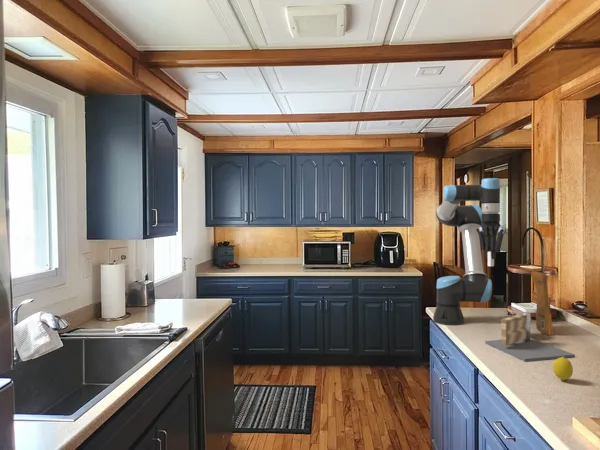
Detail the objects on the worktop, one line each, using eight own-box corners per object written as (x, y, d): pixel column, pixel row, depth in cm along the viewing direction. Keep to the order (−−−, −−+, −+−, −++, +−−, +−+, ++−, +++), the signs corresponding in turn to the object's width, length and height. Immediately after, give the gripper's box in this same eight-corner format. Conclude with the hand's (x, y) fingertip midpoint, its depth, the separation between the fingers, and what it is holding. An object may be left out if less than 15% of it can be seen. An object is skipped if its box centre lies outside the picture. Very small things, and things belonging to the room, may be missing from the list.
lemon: (549, 377, 146) (549, 354, 146) (565, 377, 146) (565, 353, 146) (560, 384, 140) (560, 359, 140) (576, 383, 141) (576, 359, 141)
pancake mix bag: (539, 335, 196) (539, 274, 195) (530, 325, 214) (530, 269, 213) (556, 337, 194) (556, 274, 193) (545, 326, 212) (545, 269, 211)
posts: (502, 345, 182) (502, 315, 182) (526, 341, 187) (526, 311, 187) (508, 347, 179) (508, 316, 179) (532, 343, 184) (532, 313, 184)
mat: (485, 343, 186) (485, 340, 186) (529, 339, 190) (529, 337, 190) (524, 361, 162) (524, 358, 162) (574, 357, 166) (574, 354, 166)
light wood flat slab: (521, 337, 185) (521, 313, 185) (526, 338, 183) (526, 314, 183) (500, 344, 176) (500, 319, 175) (506, 345, 174) (506, 320, 173)
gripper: (472, 213, 195) (472, 265, 195) (500, 213, 184) (500, 268, 185) (481, 213, 199) (482, 264, 200) (509, 212, 189) (509, 266, 189)
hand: (490, 266), depth 192 cm, fingers closed
